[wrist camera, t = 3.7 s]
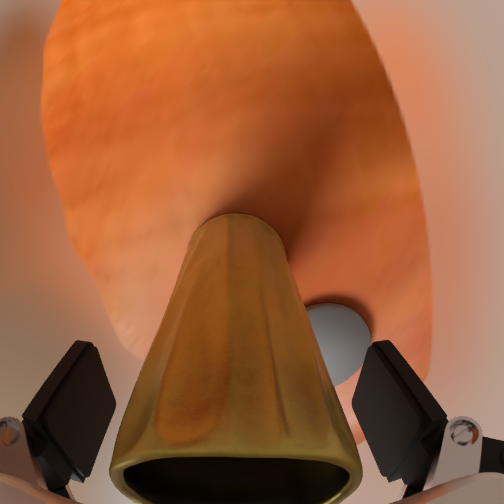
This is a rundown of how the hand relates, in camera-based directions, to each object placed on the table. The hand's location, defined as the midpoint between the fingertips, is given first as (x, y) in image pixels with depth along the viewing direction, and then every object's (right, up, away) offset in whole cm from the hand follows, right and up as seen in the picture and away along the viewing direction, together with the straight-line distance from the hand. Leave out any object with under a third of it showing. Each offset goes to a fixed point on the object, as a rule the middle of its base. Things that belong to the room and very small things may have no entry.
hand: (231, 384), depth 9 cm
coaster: (+6, -3, +11) cm, 13 cm away
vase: (0, +4, +9) cm, 10 cm away
